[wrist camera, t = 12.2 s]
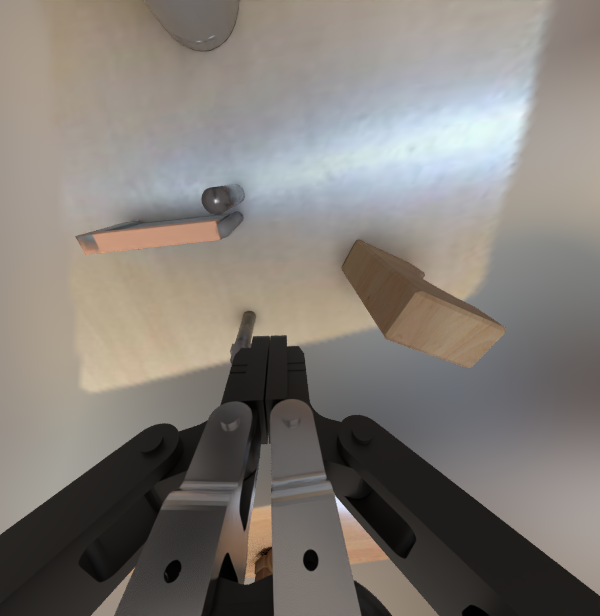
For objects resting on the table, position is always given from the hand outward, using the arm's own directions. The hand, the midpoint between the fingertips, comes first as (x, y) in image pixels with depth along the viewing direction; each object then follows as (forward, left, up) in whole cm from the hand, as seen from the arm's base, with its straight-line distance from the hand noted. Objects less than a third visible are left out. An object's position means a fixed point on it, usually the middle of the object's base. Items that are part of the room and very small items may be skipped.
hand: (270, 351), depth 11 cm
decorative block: (+6, +16, -29) cm, 34 cm away
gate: (-1, -13, -28) cm, 31 cm away
